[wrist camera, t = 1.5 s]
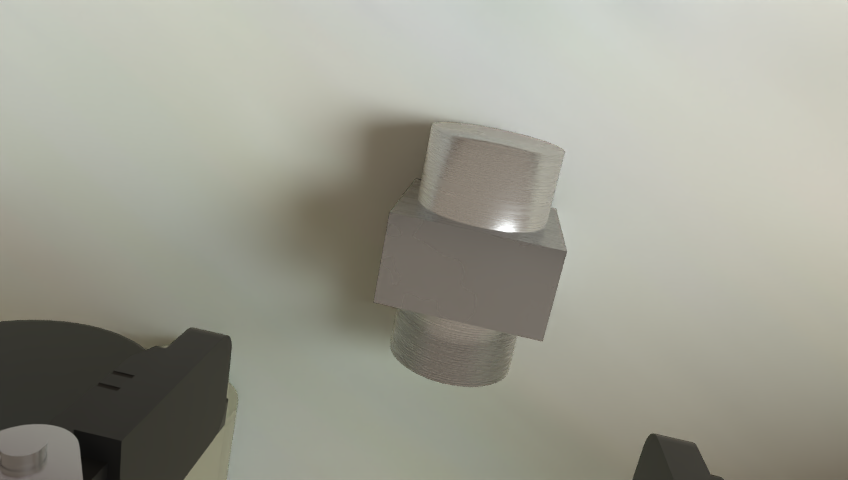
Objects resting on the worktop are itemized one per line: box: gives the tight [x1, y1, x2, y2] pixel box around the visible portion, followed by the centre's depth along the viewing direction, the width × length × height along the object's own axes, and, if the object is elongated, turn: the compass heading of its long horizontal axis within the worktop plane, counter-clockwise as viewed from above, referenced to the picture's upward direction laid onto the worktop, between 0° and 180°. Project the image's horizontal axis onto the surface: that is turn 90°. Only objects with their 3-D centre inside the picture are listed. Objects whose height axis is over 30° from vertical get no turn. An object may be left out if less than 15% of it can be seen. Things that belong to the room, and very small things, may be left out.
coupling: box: [374, 122, 567, 387], centre depth 22 cm, size 5×8×5 cm
